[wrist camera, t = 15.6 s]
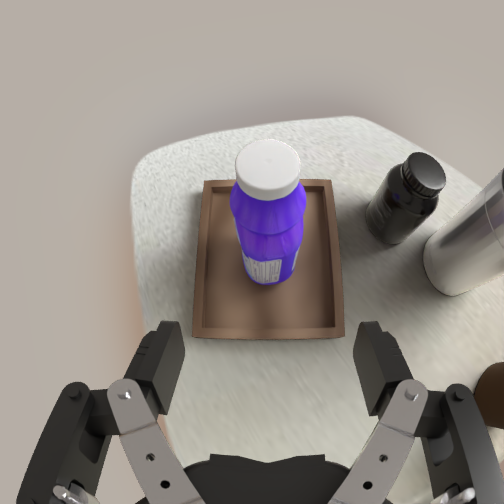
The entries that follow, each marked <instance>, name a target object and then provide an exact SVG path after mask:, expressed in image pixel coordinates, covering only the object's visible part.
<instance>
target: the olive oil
mask: <svg viewBox="0 0 504 504" xmlns="http://www.w3.org/2000/svg"><path fill="white" fill-rule="evenodd" d="M474 399H475V401H476V404H477V406H478V408H479V411H480V413H481V416H482V418H483V420H484V423H485V425H488V426H492V427H496V428H500V429H504V362H499V363H495V364H493V365H491V366H490V367H489V368H488V369H487V370H486V371H485V372H484V374H483V375H482V377H481V378H480V380H479V382H478V385H477V387H476V391H475V395H474Z"/></svg>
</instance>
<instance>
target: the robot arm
mask: <svg viewBox="0 0 504 504" xmlns="http://www.w3.org/2000/svg"><path fill="white" fill-rule="evenodd" d="M423 261H424V267H425V271H426V273H427V276H428V278H429V280H430V281H431V283H432V284H433V285H434V287H435V288H436V289H437V290H439V291H440V292H441V293H443V294H445V295H449V296H456V295H459V294H462V293H464V292H467V291H469V290H471V289H474V288H476V287H479V286H481V285H483V284H485V283H488V282H490V281H492V280H494V279H496V278H498V277H500V276H503V275H504V168H503V169H502V170H501V172H499V173H498V175H497V176H496V177H495V178H494V179H493V180H492V181H491V182H490V183H489V184H488V185H487V186H486V187H485V188H484V189H483V190H482V191H481V192H480V193H479V194H478V195H477V196H476V197H475V198H473V199H472V200H471V201H470V202H469V203H468V204H467V205H466V206H465V207H464V208H463V209H462V210H461V211H459V212H458V213H457V214H456V215H455V216H454V217H453V218H452V219H451V220H449V221H448V222H447V223H446V224H445V225H444V226H443V227H441V228H440V229H439V230H438V231H437V232H436V233H434V234H433V235H432V236H431V237H430V238H429V239H428V241H427V243H426V245H425V248H424V254H423ZM184 357H185V347H184V342H183V338H182V333H181V329H180V324H179V322H177V321H161V322H160V324H159V326H158V328H157V331H150V332H149V333H148V334H147V335H145V336H144V337H143V339H142V341H141V343H140V345H139V348H138V349H137V351H136V354H135V355H134V357H133V359H132V361H131V363H130V365H129V367H128V369H127V371H126V374H125V376H124V378H123V379H120V380H117V381H115V382H114V383H112V384H111V385H110V387H109V388H108V389H103V390H89V388H88V386H87V385H86V384H84V383H82V382H73V383H70V384H68V385H67V386H66V387H65V388H64V389H63V390H62V392H61V394H60V396H59V398H58V400H57V402H56V404H55V406H54V408H53V411H52V412H51V415H50V417H49V419H48V421H47V423H46V425H45V427H44V430H43V432H42V434H41V437H40V439H39V441H38V444H37V446H36V449H35V450H34V453H33V455H32V458H31V460H30V463H29V465H28V468H27V471H26V473H25V476H24V479H23V481H22V484H21V488H20V490H19V493H18V496H17V500H16V504H100V502H99V501H98V500H97V498H95V493H96V490H97V486H98V482H99V478H100V475H101V471H102V468H103V464H104V461H105V457H106V454H107V451H108V447H109V444H110V441H111V438H112V435H119V438H120V441H121V443H122V446H123V448H124V451H125V453H126V456H127V457H128V460H129V463H130V465H131V467H132V469H133V471H134V473H135V475H136V478H137V480H138V482H139V484H140V486H141V488H142V489H143V492H144V493H145V496H146V497H144V498H143V499H141V500H140V501H138V502H137V503H135V504H393V503H391V502H390V501H389V500H387V499H386V496H387V495H388V493H389V491H390V489H391V488H392V486H393V484H394V482H395V480H396V478H397V476H398V474H399V472H400V470H401V468H402V466H403V464H404V462H405V460H406V458H407V456H408V454H409V451H410V449H411V447H412V445H413V442H414V440H415V437H421V441H422V445H423V449H424V453H425V457H426V462H427V466H428V471H429V476H430V481H431V486H432V492H433V497H434V500H433V501H432V502H431V503H430V504H504V480H503V476H502V473H501V469H500V466H499V463H498V460H497V456H496V453H495V450H494V447H493V445H492V442H491V439H490V436H489V433H488V431H487V428H486V426H485V423H484V420H483V418H482V416H481V413H480V411H479V408H478V406H477V404H476V401H475V399H474V397H473V395H472V392H471V391H470V389H469V388H468V387H466V386H465V385H462V384H452V385H450V386H449V387H448V388H447V389H446V391H445V392H441V391H430V390H427V389H426V387H425V386H424V385H423V384H422V383H421V382H419V381H417V380H414V379H413V376H412V374H411V372H410V370H409V367H408V365H407V363H406V361H405V359H404V356H403V355H402V352H401V350H400V349H399V346H398V343H397V341H396V339H395V338H394V337H393V336H392V335H391V334H390V333H389V332H388V331H387V332H382V330H381V328H380V326H379V323H378V322H377V321H371V322H361V323H360V324H359V328H358V332H357V336H356V340H355V344H354V348H353V358H354V362H355V366H356V369H357V373H358V376H359V380H360V384H361V387H362V391H363V395H364V398H365V402H366V406H367V410H368V414H369V416H376V415H378V419H379V421H378V423H377V425H376V427H375V428H374V430H373V432H372V434H371V435H370V437H369V439H368V441H367V442H366V444H365V446H364V447H363V449H362V450H361V452H360V454H359V455H358V457H357V458H356V460H355V461H354V463H353V464H352V466H351V467H350V469H348V468H347V467H345V466H343V465H340V464H338V463H334V462H330V461H325V454H322V455H309V456H296V457H292V458H288V459H284V460H280V461H275V462H271V463H264V462H260V461H256V460H252V459H248V458H244V457H240V456H231V455H218V454H210V459H209V460H207V461H202V462H198V463H195V464H192V465H190V466H187V467H186V468H183V467H182V465H181V464H180V462H179V460H178V459H177V457H176V455H175V454H174V452H173V450H172V449H171V447H170V445H169V443H168V442H167V440H166V438H165V436H164V434H163V432H162V431H161V429H160V427H159V425H158V423H157V418H158V415H159V414H163V415H167V414H168V410H169V407H170V403H171V400H172V397H173V393H174V390H175V387H176V383H177V380H178V377H179V374H180V370H181V367H182V364H183V361H184Z"/></svg>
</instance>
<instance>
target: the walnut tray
mask: <svg viewBox="0 0 504 504" xmlns="http://www.w3.org/2000/svg"><path fill="white" fill-rule="evenodd" d="M236 181H237V179H236V180H209V181H204V187H203V196H202V206H201V216H200V226H199V237H198V248H197V261H196V275H195V290H194V307H193V327H192V337H196V338H213V339H250V340H284V339H320V338H339V337H344V336H345V327H344V303H343V286H342V272H341V260H340V249H339V238H338V229H337V220H336V212H335V204H334V196H333V189H332V182H331V180H322V179H299V182H300V183H301V184H302V186H303V187H304V190H305V193H306V208H305V211H304V214H303V238H302V242H301V245H300V248H299V251H298V255H297V259H296V263H295V268H294V271H293V273H292V275H291V276H290V277H289V278H288V279H287V280H285V281H283V282H280V283H278V284H272V285H262V284H258V283H255V282H254V281H253V280H251V278H250V277H249V276H248V274H247V272H246V270H245V267H244V263H243V258H242V248H241V245H240V243H239V240H238V237H237V233H236V229H235V223H234V215H233V213H232V211H231V208H230V194H231V191H232V188H233V185H234V184H235V182H236Z"/></svg>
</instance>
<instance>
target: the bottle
mask: <svg viewBox="0 0 504 504" xmlns="http://www.w3.org/2000/svg"><path fill="white" fill-rule="evenodd" d="M300 169H301V162H300V158H299V156H298V154H297V153H296V151H295V150H294V149H293V148H292V147H290V146H289V145H288V144H286V143H284V142H281V141H278V140H273V139H263V140H257V141H254V142H251V143H250V144H248V145H246V146H245V147H244V148H243V149H242V150H241V151H240V152H239V154H238V155H237V157H236V161H235V170H236V179H237V181H236V182H235V184H234V185H233V188H232V191H231V194H230V208H231V211H232V213H233V215H234V223H235V229H236V233H237V237H238V240H239V243H240V245H241V248H242V258H243V263H244V267H245V270H246V272H247V274H248V276H249V277H250V278H251V280H253V281H254V282H255V283H258V284H262V285H272V284H278V283H280V282H283V281H285V280H287V279H288V278H289V277H290V276H291V275H292V273H293V271H294V268H295V263H296V259H297V255H298V251H299V248H300V245H301V242H302V238H303V214H304V211H305V208H306V193H305V190H304V187H303V186H302V184H301V183H300V182H299V179H300Z"/></svg>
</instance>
